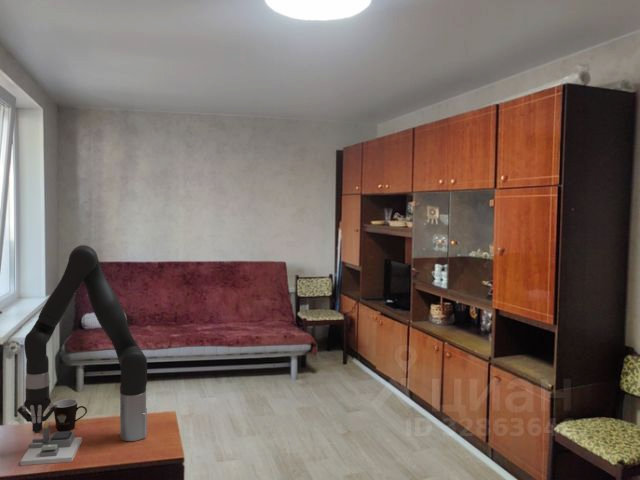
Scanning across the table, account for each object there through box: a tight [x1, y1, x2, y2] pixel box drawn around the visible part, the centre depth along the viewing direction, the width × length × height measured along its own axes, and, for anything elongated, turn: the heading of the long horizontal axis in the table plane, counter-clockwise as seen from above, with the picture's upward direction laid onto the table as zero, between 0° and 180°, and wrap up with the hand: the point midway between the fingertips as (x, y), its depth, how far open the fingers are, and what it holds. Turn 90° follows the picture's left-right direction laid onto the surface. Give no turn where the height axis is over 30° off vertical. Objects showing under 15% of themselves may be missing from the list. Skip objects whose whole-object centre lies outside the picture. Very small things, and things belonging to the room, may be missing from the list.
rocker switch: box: [41, 444, 57, 450], centre depth 190 cm, size 4×3×1 cm, turn 102°
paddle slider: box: [42, 421, 51, 444], centre depth 197 cm, size 2×3×7 cm, turn 12°
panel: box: [20, 431, 83, 466], centre depth 194 cm, size 16×16×4 cm
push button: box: [52, 430, 72, 441], centre depth 198 cm, size 5×5×3 cm
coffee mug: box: [53, 398, 88, 432], centre depth 213 cm, size 12×9×10 cm
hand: (37, 432), depth 196 cm, fingers closed
